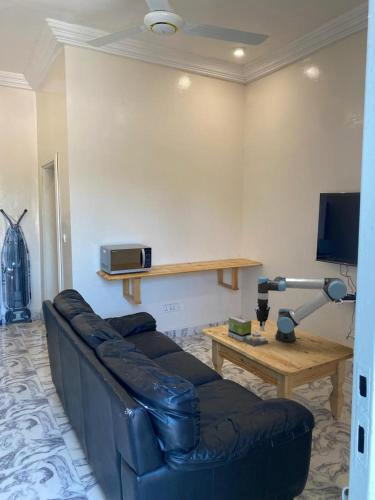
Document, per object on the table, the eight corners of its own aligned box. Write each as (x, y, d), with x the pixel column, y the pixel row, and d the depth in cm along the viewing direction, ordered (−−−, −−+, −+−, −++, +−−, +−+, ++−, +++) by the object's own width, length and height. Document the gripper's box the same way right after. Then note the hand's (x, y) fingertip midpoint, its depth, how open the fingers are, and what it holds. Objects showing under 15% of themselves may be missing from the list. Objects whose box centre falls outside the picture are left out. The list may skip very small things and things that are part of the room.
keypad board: (257, 338, 289) (257, 336, 289) (268, 343, 279) (268, 340, 279) (243, 341, 283) (243, 338, 282) (254, 346, 272) (254, 344, 272)
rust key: (255, 341, 280) (255, 336, 279) (259, 342, 276) (259, 338, 276) (250, 342, 278) (250, 337, 277) (254, 344, 274) (254, 339, 273)
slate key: (256, 337, 288) (256, 332, 287) (260, 339, 284) (260, 334, 283) (252, 338, 285) (252, 333, 285) (256, 340, 282) (256, 335, 281)
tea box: (227, 336, 294) (228, 317, 293) (237, 333, 300) (237, 315, 298) (241, 341, 282) (242, 322, 281) (251, 339, 288) (252, 319, 287)
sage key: (250, 340, 285) (250, 335, 284) (254, 342, 281) (254, 337, 280) (245, 341, 282) (245, 336, 282) (249, 343, 279) (249, 338, 278)
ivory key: (261, 341, 283) (261, 336, 282) (265, 343, 279) (265, 338, 279) (257, 342, 281) (257, 337, 280) (261, 344, 277) (261, 339, 277)
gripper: (266, 296, 283) (265, 327, 285) (252, 298, 276) (251, 330, 279) (273, 298, 276) (272, 330, 279) (259, 300, 270) (258, 333, 272)
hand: (262, 330), depth 279 cm, fingers closed
